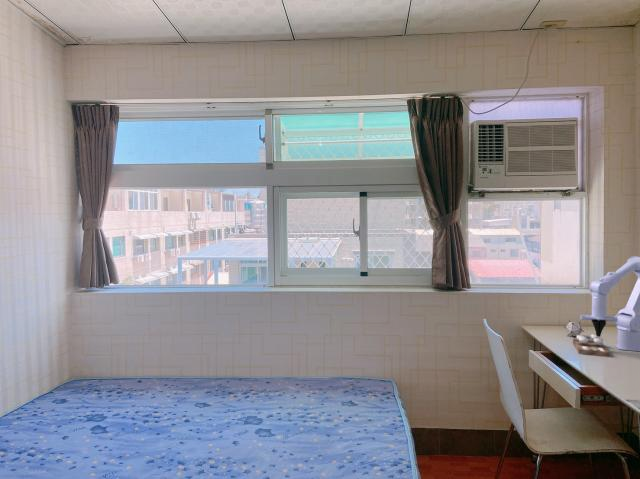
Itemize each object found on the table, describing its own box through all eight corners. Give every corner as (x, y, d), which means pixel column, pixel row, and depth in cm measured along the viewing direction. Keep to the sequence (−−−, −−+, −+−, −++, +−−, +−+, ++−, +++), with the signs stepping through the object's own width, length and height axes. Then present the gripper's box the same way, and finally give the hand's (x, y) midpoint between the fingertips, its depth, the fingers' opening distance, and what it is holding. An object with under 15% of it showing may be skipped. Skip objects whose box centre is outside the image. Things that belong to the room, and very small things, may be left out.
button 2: (598, 338, 211) (598, 334, 211) (600, 340, 208) (600, 336, 208) (590, 337, 213) (590, 334, 213) (591, 339, 210) (591, 335, 209)
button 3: (601, 342, 205) (601, 338, 205) (603, 344, 202) (603, 340, 202) (592, 341, 206) (593, 337, 206) (594, 343, 203) (594, 339, 203)
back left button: (584, 339, 214) (584, 335, 214) (585, 341, 211) (585, 337, 210) (576, 338, 215) (576, 334, 215) (577, 340, 212) (577, 336, 212)
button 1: (587, 340, 207) (587, 337, 207) (588, 343, 204) (588, 339, 204) (578, 340, 209) (578, 336, 209) (579, 342, 205) (579, 338, 205)
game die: (574, 344, 226) (571, 331, 221) (562, 334, 233) (558, 322, 229) (589, 335, 226) (586, 322, 221) (576, 326, 234) (573, 313, 229)
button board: (601, 345, 212) (601, 340, 212) (609, 356, 195) (610, 351, 195) (572, 342, 217) (572, 337, 217) (578, 353, 199) (578, 348, 199)
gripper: (582, 307, 202) (581, 336, 203) (619, 309, 197) (618, 339, 197) (580, 304, 209) (579, 332, 209) (616, 306, 203) (615, 335, 204)
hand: (598, 335), depth 204 cm, fingers closed
